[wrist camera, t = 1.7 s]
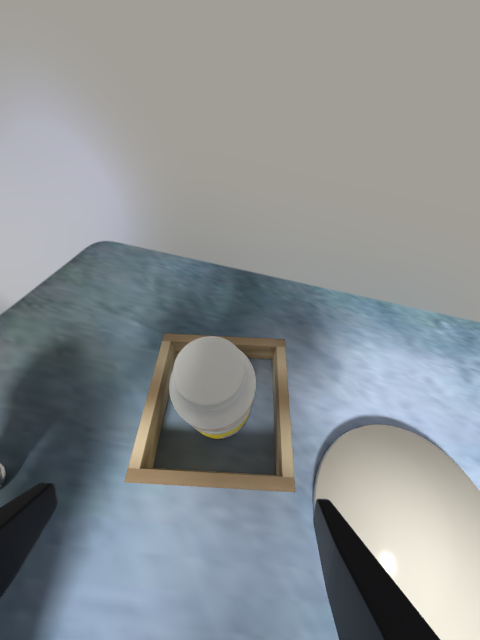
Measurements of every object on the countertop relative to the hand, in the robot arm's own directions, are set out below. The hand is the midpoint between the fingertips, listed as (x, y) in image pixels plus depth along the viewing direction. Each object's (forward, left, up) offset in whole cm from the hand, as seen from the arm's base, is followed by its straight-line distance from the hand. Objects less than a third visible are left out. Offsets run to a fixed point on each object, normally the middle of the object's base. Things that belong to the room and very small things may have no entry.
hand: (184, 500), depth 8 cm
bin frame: (+5, +2, -12) cm, 13 cm away
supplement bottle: (+5, +2, -12) cm, 14 cm away
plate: (+4, -14, -12) cm, 19 cm away
